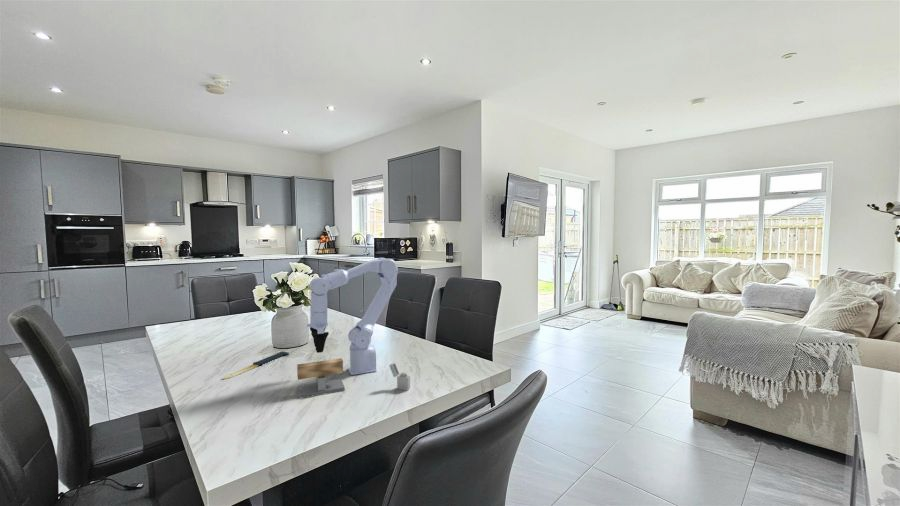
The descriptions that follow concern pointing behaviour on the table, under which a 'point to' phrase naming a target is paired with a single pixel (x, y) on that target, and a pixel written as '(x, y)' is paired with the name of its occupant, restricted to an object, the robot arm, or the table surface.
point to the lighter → (400, 378)
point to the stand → (320, 387)
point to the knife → (257, 364)
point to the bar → (319, 368)
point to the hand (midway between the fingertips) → (318, 349)
